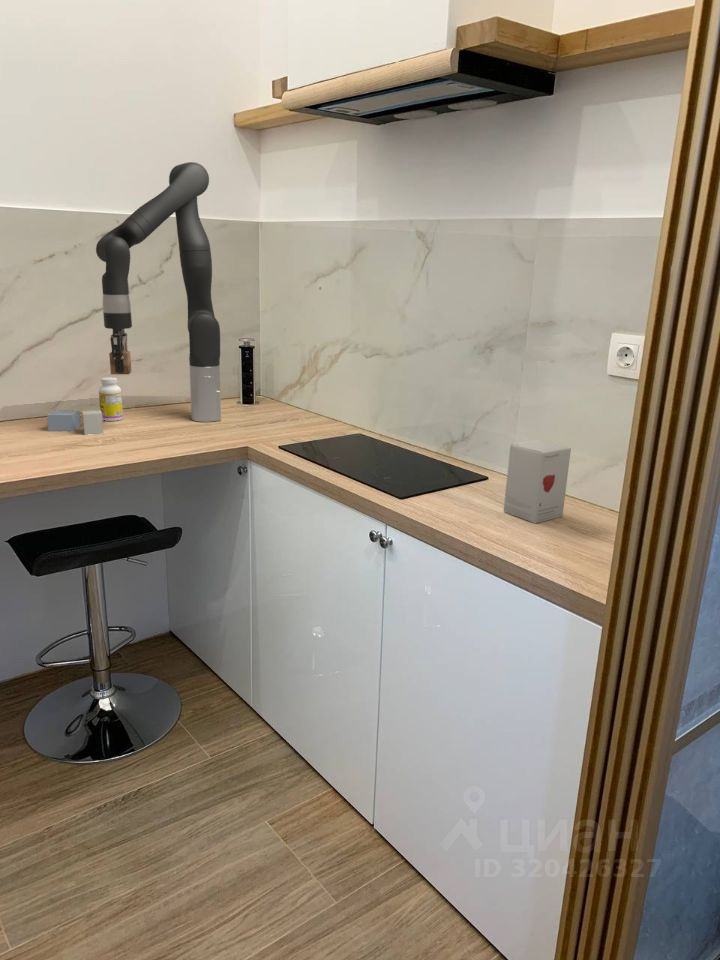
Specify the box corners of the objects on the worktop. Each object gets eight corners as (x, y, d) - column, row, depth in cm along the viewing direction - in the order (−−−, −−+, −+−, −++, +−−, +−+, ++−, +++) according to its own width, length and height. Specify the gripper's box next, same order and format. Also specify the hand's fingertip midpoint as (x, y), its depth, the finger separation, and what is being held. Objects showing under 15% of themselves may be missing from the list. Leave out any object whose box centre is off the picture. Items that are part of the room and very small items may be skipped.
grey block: (102, 430, 212) (100, 410, 210) (103, 434, 208) (102, 413, 206) (83, 431, 210) (82, 411, 208) (84, 435, 206) (83, 414, 204)
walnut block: (131, 371, 213) (130, 351, 211) (128, 374, 208) (127, 353, 206) (113, 371, 212) (112, 351, 210) (110, 374, 207) (109, 353, 205)
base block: (80, 426, 216) (79, 410, 214) (73, 432, 209) (72, 415, 208) (56, 426, 215) (55, 410, 214) (48, 431, 209) (47, 414, 207)
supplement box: (535, 524, 146) (542, 452, 141) (502, 512, 153) (508, 443, 148) (564, 516, 151) (572, 447, 147) (531, 505, 158) (538, 438, 153)
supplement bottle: (101, 417, 228) (98, 376, 224) (123, 416, 230) (120, 376, 226) (100, 422, 222) (97, 380, 218) (123, 421, 224) (120, 380, 220)
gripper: (127, 313, 199) (131, 374, 204) (134, 309, 212) (138, 367, 217) (98, 312, 198) (103, 374, 202) (107, 309, 211) (112, 367, 216)
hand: (121, 370), depth 210 cm, fingers closed on walnut block, 5 cm apart
